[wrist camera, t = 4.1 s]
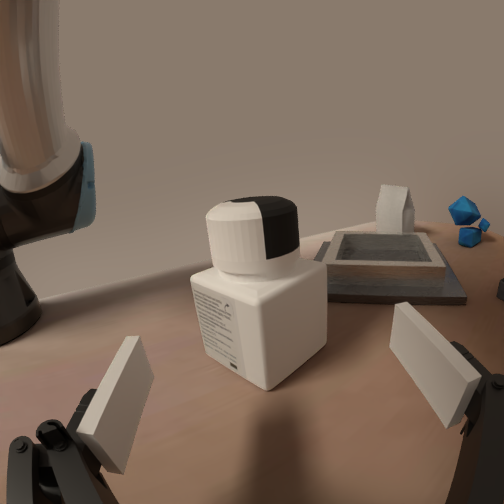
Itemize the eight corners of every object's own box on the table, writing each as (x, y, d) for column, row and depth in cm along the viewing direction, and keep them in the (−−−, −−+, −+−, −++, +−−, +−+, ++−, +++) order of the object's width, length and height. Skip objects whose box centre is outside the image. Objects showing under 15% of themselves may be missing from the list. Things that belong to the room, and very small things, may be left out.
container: (265, 319, 30) (251, 191, 26) (328, 344, 24) (325, 192, 21) (204, 355, 25) (175, 208, 21) (268, 394, 19) (247, 212, 16)
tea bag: (401, 244, 47) (401, 188, 44) (376, 237, 53) (375, 185, 50) (413, 241, 48) (414, 186, 45) (388, 233, 55) (388, 184, 52)
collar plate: (295, 299, 33) (294, 271, 32) (324, 247, 51) (323, 227, 50) (465, 304, 26) (470, 275, 24) (434, 249, 43) (436, 229, 42)
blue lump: (498, 206, 40) (477, 196, 35) (491, 251, 42) (469, 250, 37) (468, 201, 47) (442, 191, 42) (462, 242, 49) (435, 240, 44)
